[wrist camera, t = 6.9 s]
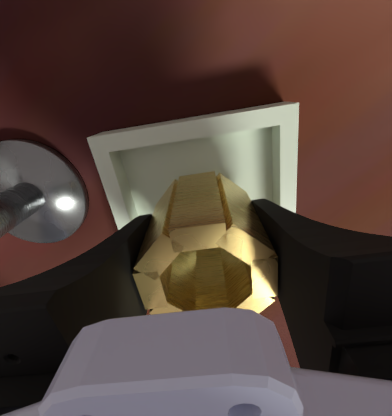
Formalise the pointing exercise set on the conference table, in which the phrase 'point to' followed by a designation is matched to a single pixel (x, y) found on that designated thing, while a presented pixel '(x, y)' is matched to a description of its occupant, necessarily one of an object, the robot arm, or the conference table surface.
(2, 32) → the conference table surface
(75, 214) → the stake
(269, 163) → the tray
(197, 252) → the collar
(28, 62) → the conference table surface
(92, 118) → the conference table surface
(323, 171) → the conference table surface
